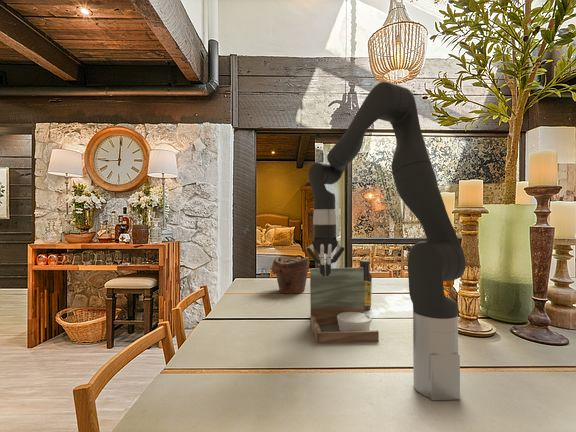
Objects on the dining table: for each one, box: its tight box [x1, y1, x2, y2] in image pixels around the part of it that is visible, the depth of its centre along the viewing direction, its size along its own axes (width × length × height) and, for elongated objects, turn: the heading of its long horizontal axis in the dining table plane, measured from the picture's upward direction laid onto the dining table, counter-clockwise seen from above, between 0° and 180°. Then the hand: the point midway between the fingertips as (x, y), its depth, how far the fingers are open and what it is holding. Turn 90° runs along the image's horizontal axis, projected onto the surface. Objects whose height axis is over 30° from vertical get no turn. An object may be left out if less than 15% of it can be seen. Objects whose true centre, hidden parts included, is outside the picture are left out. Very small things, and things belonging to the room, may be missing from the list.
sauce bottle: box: [359, 259, 373, 311], centre depth 139 cm, size 6×6×20 cm
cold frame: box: [309, 267, 380, 344], centre depth 111 cm, size 17×19×20 cm
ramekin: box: [337, 312, 372, 332], centre depth 111 cm, size 11×11×5 cm
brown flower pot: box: [270, 256, 311, 294], centre depth 171 cm, size 18×20×18 cm
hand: (325, 275), depth 111 cm, fingers closed
